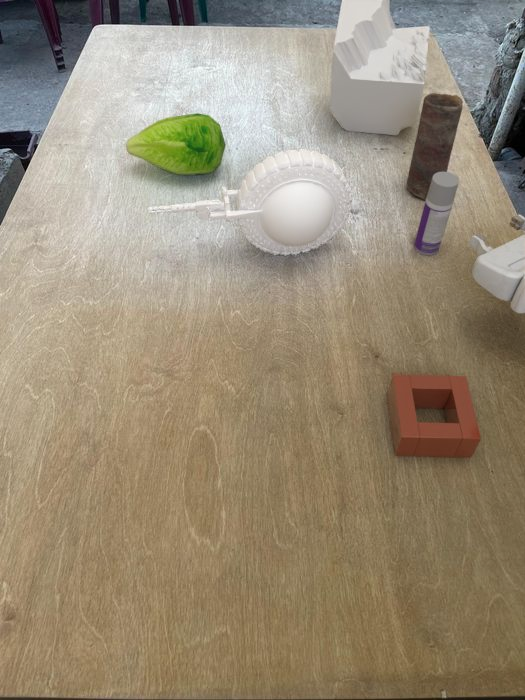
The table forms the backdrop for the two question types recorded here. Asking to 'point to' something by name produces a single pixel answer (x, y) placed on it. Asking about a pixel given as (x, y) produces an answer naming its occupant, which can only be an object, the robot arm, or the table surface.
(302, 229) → the tracked sphere vehicle
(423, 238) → the container
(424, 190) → the rusty brown cylinder
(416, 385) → the holder
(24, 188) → the table surface
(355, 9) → the white carved sculpture block
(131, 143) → the lettuce
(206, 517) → the table surface
